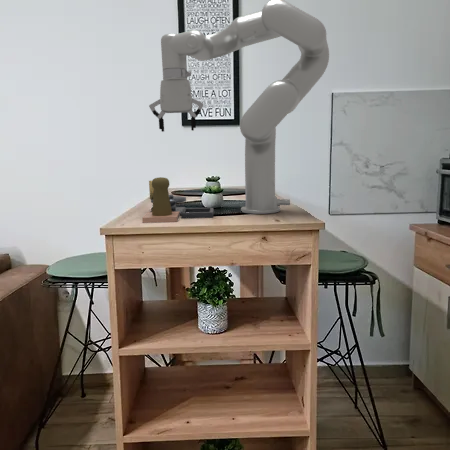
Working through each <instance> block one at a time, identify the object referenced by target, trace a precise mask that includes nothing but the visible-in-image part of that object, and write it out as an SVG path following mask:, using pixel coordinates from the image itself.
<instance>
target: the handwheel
mask: <svg viewBox="0 0 450 450" xmlns="http://www.w3.org/2000/svg"><path fill="white" fill-rule="evenodd" d="M148 186H149V199H150V203H152V204H153V195H154V188H153V187H152V180H148ZM169 199H170V204H171V203H175V204H180V203H185V202H186V201H187V197H186V196H181V195H180V196H179V195H174V194H169Z"/></svg>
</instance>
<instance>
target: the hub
mask: <svg viewBox="0 0 450 450" xmlns="http://www.w3.org/2000/svg"><path fill="white" fill-rule="evenodd" d="M176 204H177V203H171V210H172V212H178V211H180V212H182V210H183V209H186V207H185V206H180V207H179V206H176Z"/></svg>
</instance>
